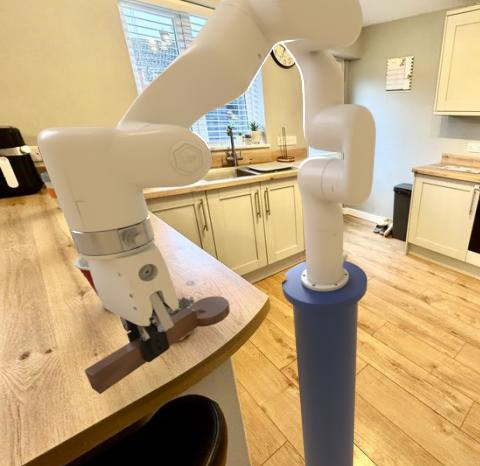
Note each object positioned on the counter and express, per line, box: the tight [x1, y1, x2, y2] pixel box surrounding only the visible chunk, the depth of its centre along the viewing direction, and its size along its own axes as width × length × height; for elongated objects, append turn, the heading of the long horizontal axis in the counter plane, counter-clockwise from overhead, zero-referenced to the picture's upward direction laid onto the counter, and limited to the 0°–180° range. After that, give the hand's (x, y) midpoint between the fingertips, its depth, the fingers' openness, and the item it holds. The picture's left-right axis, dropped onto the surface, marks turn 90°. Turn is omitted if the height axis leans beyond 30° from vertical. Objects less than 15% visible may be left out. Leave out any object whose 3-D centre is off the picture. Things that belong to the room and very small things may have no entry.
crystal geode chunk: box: [152, 296, 196, 341], centre depth 58 cm, size 11×8×4 cm
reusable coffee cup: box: [40, 171, 62, 210], centre depth 126 cm, size 13×13×15 cm
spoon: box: [83, 295, 231, 395], centre depth 44 cm, size 20×6×3 cm, turn 155°
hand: (152, 351), depth 42 cm, fingers closed on spoon
